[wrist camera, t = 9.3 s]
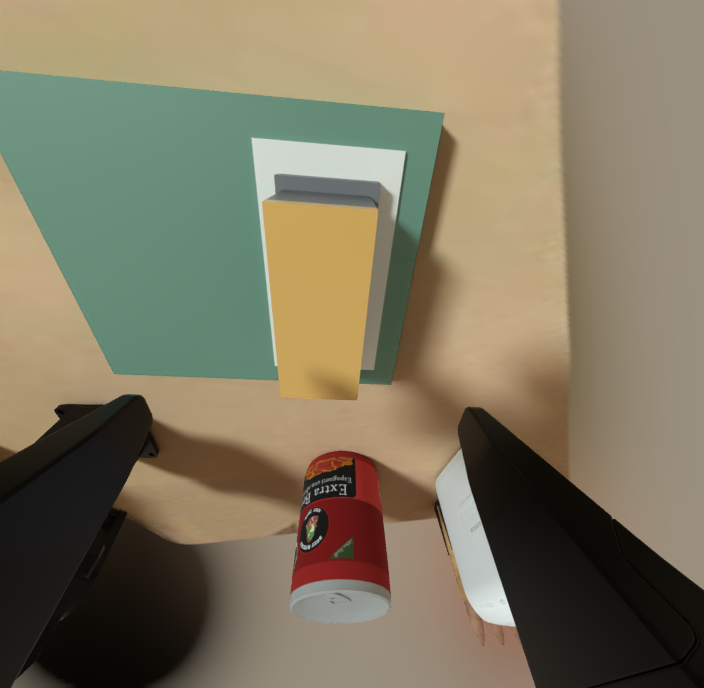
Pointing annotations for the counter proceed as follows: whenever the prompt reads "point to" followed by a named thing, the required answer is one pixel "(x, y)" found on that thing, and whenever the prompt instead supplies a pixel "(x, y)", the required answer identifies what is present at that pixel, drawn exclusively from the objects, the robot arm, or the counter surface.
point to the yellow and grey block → (319, 289)
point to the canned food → (340, 543)
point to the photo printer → (471, 545)
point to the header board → (205, 210)
